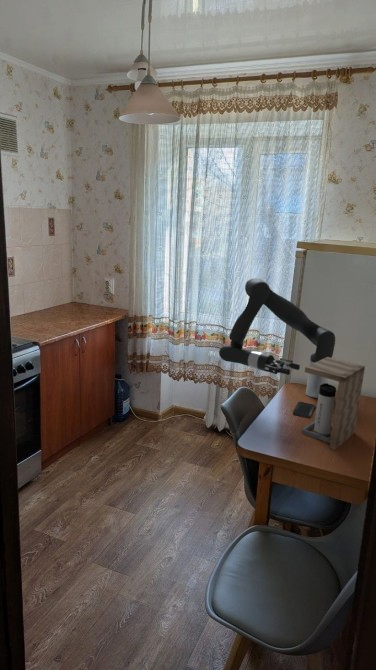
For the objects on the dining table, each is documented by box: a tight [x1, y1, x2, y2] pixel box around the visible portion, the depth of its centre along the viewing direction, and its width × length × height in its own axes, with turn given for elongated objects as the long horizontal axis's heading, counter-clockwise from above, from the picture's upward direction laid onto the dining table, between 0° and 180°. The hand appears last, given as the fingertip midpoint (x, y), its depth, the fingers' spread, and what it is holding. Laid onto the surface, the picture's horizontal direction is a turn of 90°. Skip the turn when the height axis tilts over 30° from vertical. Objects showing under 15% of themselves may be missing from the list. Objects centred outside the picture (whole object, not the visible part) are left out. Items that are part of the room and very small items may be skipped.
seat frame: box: [300, 420, 333, 444], centre depth 184 cm, size 12×12×2 cm
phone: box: [292, 401, 316, 419], centre depth 206 cm, size 8×1×15 cm
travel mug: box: [313, 382, 337, 437], centre depth 182 cm, size 6×7×20 cm
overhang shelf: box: [304, 357, 366, 451], centre depth 180 cm, size 20×16×28 cm
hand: (294, 369), depth 191 cm, fingers open, 8 cm apart
